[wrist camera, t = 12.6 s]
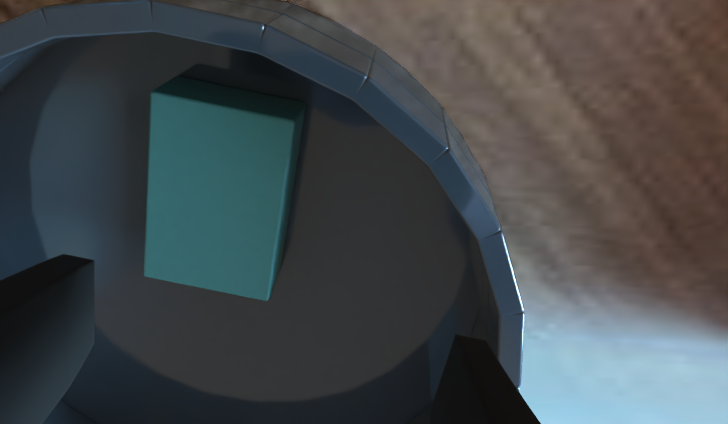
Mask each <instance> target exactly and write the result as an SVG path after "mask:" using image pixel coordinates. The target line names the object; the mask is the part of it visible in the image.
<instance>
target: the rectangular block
mask: <svg viewBox="0 0 728 424" xmlns="http://www.w3.org/2000/svg"><path fill="white" fill-rule="evenodd" d="M305 108H306V105H305V103H303V102H299V101H294V100H290V99H285V98H280V97H275V96H270V95H266V94H261V93H256V92H251V91H246V90H242V89H237V88H232V87H227V86H222V85H218V84H213V83H208V82H203V81H198V80H194V79H189V78H184V77H179V76H176V77H174V78H172V79H171V80H169V81H167V82H166V83H164V84H162V85H161V86H159V87H157V88H156V89H154V90H152V91H151V93H150V118H149V145H148V172H147V199H146V226H145V253H144V276H145V277H149V278H154V279H159V280H164V281H169V282H174V283H179V284H184V285H189V286H194V287H199V288H204V289H209V290H214V291H219V292H224V293H228V294H233V295H238V296H243V297H248V298H253V299H258V300H263V301H268V300H269V298H270V296H271V293H272V291H273V288H274V285H275V283H276V280H277V277H278V275H279V272H280V270H281V264H282V257H283V251H284V244H285V238H286V231H287V225H288V218H289V212H290V205H291V199H292V192H293V186H294V179H295V173H296V166H297V160H298V153H299V147H300V140H301V134H302V127H303V121H304V114H305Z"/></svg>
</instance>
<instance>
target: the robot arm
mask: <svg viewBox="0 0 728 424" xmlns="http://www.w3.org/2000/svg"><path fill="white" fill-rule="evenodd" d="M94 275H95V260H91V259H86V258H81V257H76V256H72V255H67V254H62V255H59V256H56V257H54V258H51V259H49V260H46V261H44V262H41V263H39V264H37V265H34V266H32V267H30V268H27V269H25V270H23V271H20V272H18V273H16V274H14V275H11V276H9V277H7V278H5V279H2V280H0V424H42V423H43V422H44V421H45V420H46V418H47V417H48V416H49V414H50V413H51V412H52V410H53V409H54V408H55V406H56V405H57V404H58V402H59V401H60V400H61V398H62V397H63V396H64V394H65V393H66V391H67V390H68V389H69V387H70V386H71V384H72V382H73V381H74V379H75V377H76V375H77V374H78V372H79V370H80V369H81V367H82V365H83V363H84V361H85V360H86V358H87V356H88V354H89V352H90V351H91V349H92V347H93V345H94ZM430 424H541V423H540V422H539V421H538V419H537V418H536V416H535V415H534V414H533V412H532V411H531V409H530V408H529V406H528V405H527V403H526V402H525V401H524V399H523V398H522V396H521V395H520V393H519V392H518V390H517V388H516V387H515V385H514V384H513V382H512V381H511V379H510V378H509V376H508V375H507V373H506V371H505V370H504V368H503V367H502V365H501V364H500V362H499V360H498V359H497V357H496V356H495V354H494V353H493V351H492V349H491V348H490V346H489V345H488V343H487V342H486V340H481V339H476V338H471V337H466V336H461V335H456V334H455V337H454V340H453V344H452V347H451V350H450V353H449V356H448V359H447V362H446V365H445V368H444V371H443V374H442V377H441V380H440V383H439V386H438V389H437V392H436V395H435V398H434V401H433V404H432V407H431V410H430Z"/></svg>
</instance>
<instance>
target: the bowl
mask: <svg viewBox="0 0 728 424" xmlns="http://www.w3.org/2000/svg"><path fill="white" fill-rule="evenodd" d="M176 76H179V77H184V78H189V79H194V80H198V81H203V82H208V83H213V84H218V85H222V86H227V87H232V88H237V89H242V90H246V91H251V92H256V93H261V94H266V95H270V96H275V97H280V98H285V99H290V100H294V101H299V102H303V103H305V105H306V108H305V114H304V121H303V127H302V134H301V140H300V147H299V153H298V160H297V166H296V173H295V179H294V186H293V192H292V199H291V205H290V212H289V218H288V225H287V231H286V238H285V244H284V251H283V257H282V264H281V270H280V272H279V275H278V277H277V280H276V283H275V285H274V288H273V291H272V293H271V296H270V298H269V300H268V301H263V300H258V299H253V298H248V297H243V296H238V295H233V294H228V293H224V292H219V291H214V290H209V289H204V288H199V287H194V286H189V285H184V284H179V283H174V282H169V281H164V280H159V279H154V278H149V277H145V276H144V253H145V226H146V199H147V172H148V145H149V118H150V93H151V91H152V90H154V89H156V88H157V87H159V86H161V85H162V84H164V83H166V82H167V81H169V80H171V79H172V78H174V77H176ZM62 254H67V255H72V256H76V257H81V258H86V259H91V260H95V275H94V345H93V347H92V349H91V351H90V352H89V354H88V356H87V358H86V360H85V361H84V363H83V365H82V367H81V369H80V370H79V372H78V374H77V375H76V377H75V379H74V381H73V382H72V384H71V386H70V387H69V389H68V390H67V391H66V393H65V394H64V396H63V397H62V398H61V400H60V401H59V402H58V404H57V405H56V406H55V408H54V409H53V410H52V412H51V413H50V414H49V416H48V417H47V418H46V420H45V421H44V422H43V423H42V424H430V410H431V407H432V404H433V401H434V398H435V395H436V392H437V389H438V386H439V383H440V380H441V377H442V374H443V371H444V368H445V365H446V362H447V359H448V356H449V353H450V350H451V347H452V344H453V340H454V337H455V334H456V335H461V336H466V337H471V338H476V339H481V340H486V342H487V343H488V345H489V346H490V348H491V349H492V351H493V353H494V354H495V356H496V357H497V359H498V360H499V362H500V364H501V365H502V367H503V368H504V370H505V371H506V373H507V375H508V376H509V378H510V379H511V381H512V382H513V384H514V385H515V387H516V388H517V390H518V392H519V389H520V385H521V373H522V354H523V335H524V316H525V313H524V306H523V303H522V299H521V296H520V292H519V288H518V285H517V281H516V277H515V274H514V270H513V267H512V263H511V259H510V256H509V252H508V249H507V245H506V241H505V238H504V234H503V231H502V228H501V224H500V221H499V218H498V215H497V212H496V209H495V206H494V203H493V199H492V196H491V193H490V190H489V187H488V184H487V181H486V177H485V175H484V173H483V171H482V169H481V167H480V166H479V164H478V163H477V161H476V159H475V158H474V156H473V155H472V153H471V151H470V149H469V147H468V145H467V143H466V141H465V140H464V138H463V136H462V134H461V133H460V131H459V130H458V129H457V127H456V126H455V125H454V123H453V122H452V120H451V119H450V118H449V116H448V115H447V113H446V112H445V110H444V108H443V107H442V106H441V105H440V103H438V102H437V100H436V99H435V98H434V97H433V96H432V95H431V94H430V93H429V92H428V91H427V90H426V89H425V88H424V87H423V86H422V85H421V84H420V83H419V82H418V81H417V80H416V79H415V78H414V77H413V75H412V74H411V73H410V72H408V71H407V70H406V69H405V68H403V67H402V66H401V65H400V64H398V63H397V62H396V61H395V60H393V59H392V58H391V57H390V56H388V55H387V54H386V53H384V52H383V51H382V50H381V49H379V48H378V47H377V46H376V45H374V44H372V43H371V42H369V41H367V40H366V39H364V38H362V37H361V36H359V35H357V34H356V33H354V32H352V31H351V30H349V29H347V28H346V27H344V26H342V25H341V24H339V23H337V22H334V21H332V20H330V19H327V18H325V17H323V16H321V15H318V14H316V13H314V12H311V11H309V10H307V9H304V8H302V7H300V6H297V5H294V4H290V3H287V2H283V1H280V0H75V1H70V2H65V3H60V4H55V5H50V6H45V7H40V8H37V9H35V10H32V11H30V12H27V13H25V14H22V15H20V16H17V17H15V18H12V19H10V20H7V21H5V22H2V23H0V280H2V279H5V278H7V277H9V276H11V275H14V274H16V273H18V272H20V271H23V270H25V269H27V268H30V267H32V266H34V265H37V264H39V263H41V262H44V261H46V260H49V259H51V258H54V257H56V256H59V255H62Z"/></svg>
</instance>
